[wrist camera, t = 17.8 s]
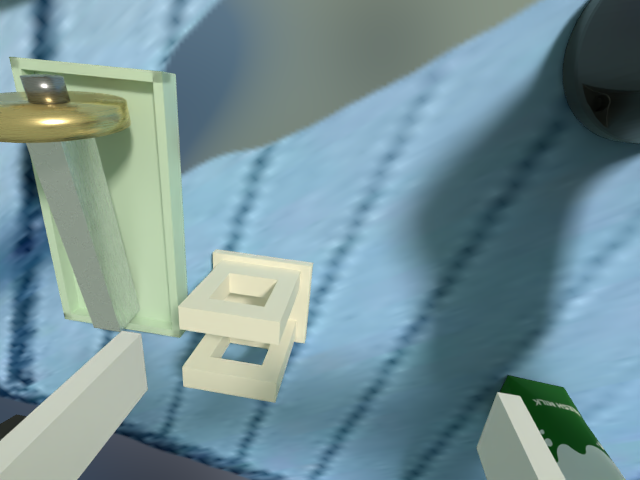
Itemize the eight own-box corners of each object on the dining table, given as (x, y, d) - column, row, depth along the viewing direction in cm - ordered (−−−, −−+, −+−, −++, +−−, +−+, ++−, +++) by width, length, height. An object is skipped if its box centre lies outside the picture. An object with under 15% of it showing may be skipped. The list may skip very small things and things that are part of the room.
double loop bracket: (216, 249, 41) (164, 297, 31) (313, 262, 40) (294, 317, 30) (217, 324, 45) (172, 390, 35) (305, 338, 44) (287, 410, 34)
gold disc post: (37, 65, 34) (-106, 75, 24) (148, 76, 34) (49, 92, 23) (105, 283, 49) (34, 347, 39) (185, 295, 48) (133, 364, 38)
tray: (175, 74, 35) (161, 71, 32) (189, 326, 46) (180, 337, 44) (32, 60, 36) (9, 56, 34) (79, 308, 47) (65, 318, 45)
